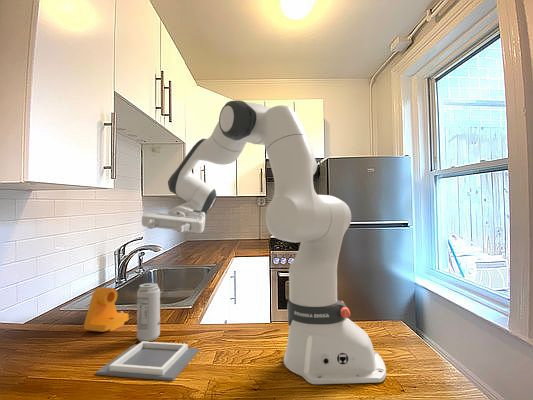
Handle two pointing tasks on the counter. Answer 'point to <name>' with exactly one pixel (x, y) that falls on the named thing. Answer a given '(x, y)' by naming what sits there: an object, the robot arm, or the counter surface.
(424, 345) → the counter surface
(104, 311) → the bracket
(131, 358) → the framed grey tray
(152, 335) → the energy drink can
